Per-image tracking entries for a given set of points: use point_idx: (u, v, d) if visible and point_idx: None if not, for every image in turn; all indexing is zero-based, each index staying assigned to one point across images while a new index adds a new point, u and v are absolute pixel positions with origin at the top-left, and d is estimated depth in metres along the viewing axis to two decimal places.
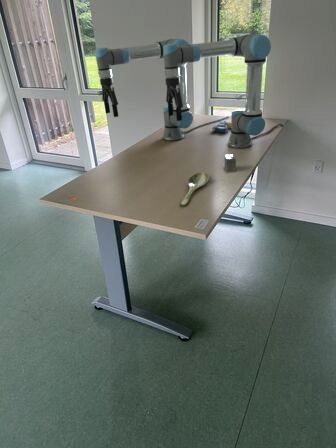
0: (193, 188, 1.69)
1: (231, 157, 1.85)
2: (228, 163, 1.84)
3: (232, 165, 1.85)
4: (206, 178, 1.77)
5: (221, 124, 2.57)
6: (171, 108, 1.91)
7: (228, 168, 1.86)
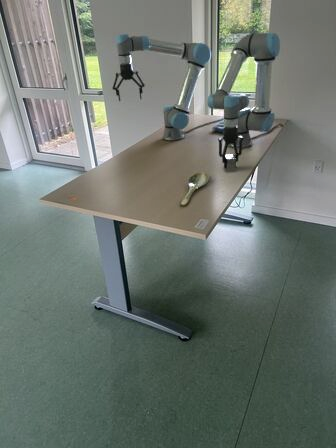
0: (193, 188, 1.69)
1: (231, 156, 1.85)
2: (228, 163, 1.84)
3: (232, 165, 1.85)
4: (206, 178, 1.77)
5: (221, 124, 2.57)
6: None
7: (228, 168, 1.86)
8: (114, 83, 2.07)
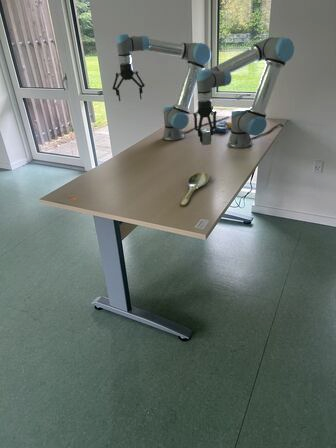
0: (193, 188, 1.69)
1: (206, 130, 1.95)
2: (203, 136, 1.94)
3: (207, 138, 1.94)
4: (206, 178, 1.77)
5: (221, 124, 2.57)
6: None
7: (204, 141, 1.95)
8: (114, 83, 2.07)
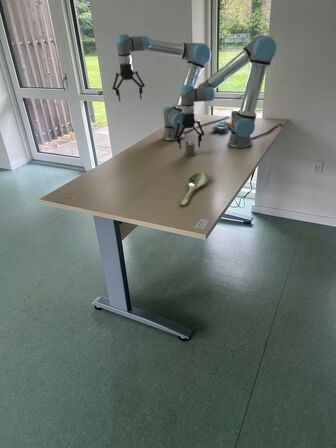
0: (193, 188, 1.69)
1: (190, 143, 2.11)
2: (188, 148, 2.10)
3: (191, 150, 2.11)
4: (206, 178, 1.77)
5: (221, 124, 2.57)
6: None
7: (188, 153, 2.12)
8: (114, 83, 2.07)
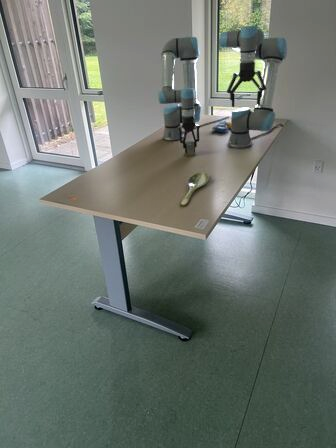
0: (193, 188, 1.69)
1: (190, 143, 2.11)
2: (187, 148, 2.10)
3: (191, 150, 2.11)
4: (206, 178, 1.77)
5: (221, 124, 2.57)
6: None
7: (188, 153, 2.12)
8: (180, 137, 2.08)
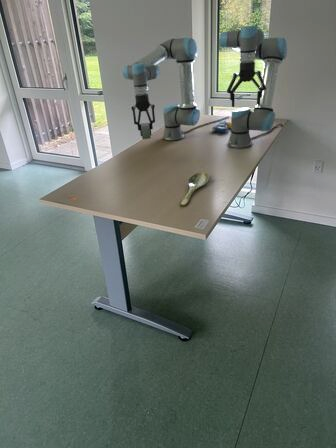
0: (193, 188, 1.69)
1: (146, 124, 1.95)
2: (142, 130, 1.94)
3: (147, 132, 1.95)
4: (206, 178, 1.77)
5: (221, 124, 2.57)
6: None
7: (143, 135, 1.96)
8: (134, 118, 1.92)
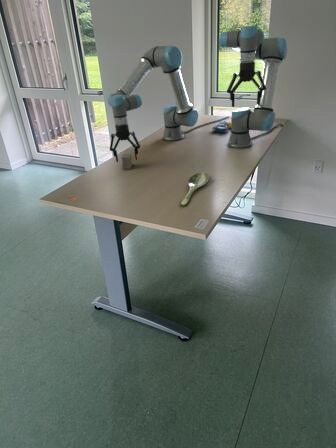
0: (193, 188, 1.69)
1: (127, 155, 2.00)
2: (123, 161, 1.99)
3: (128, 163, 2.00)
4: (206, 178, 1.77)
5: (221, 124, 2.57)
6: None
7: (124, 166, 2.01)
8: None
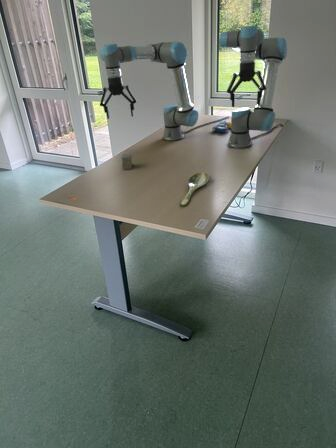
0: (193, 188, 1.69)
1: (127, 155, 2.00)
2: (123, 161, 1.99)
3: (128, 163, 2.00)
4: (206, 178, 1.77)
5: (221, 124, 2.57)
6: None
7: (124, 166, 2.01)
8: (101, 99, 1.83)
